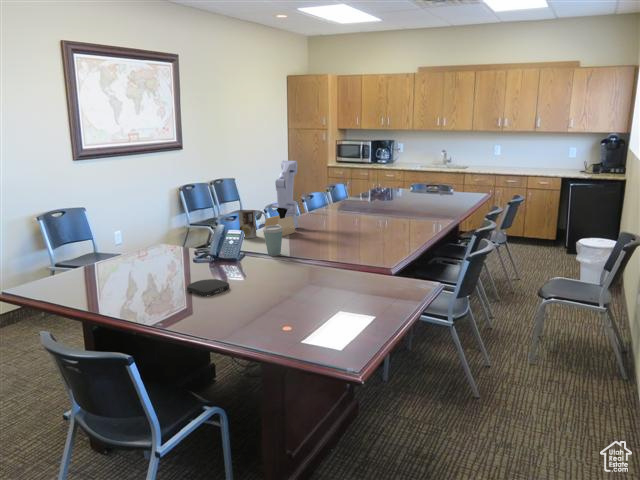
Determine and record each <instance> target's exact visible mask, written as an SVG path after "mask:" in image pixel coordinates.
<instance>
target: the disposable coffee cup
mask: <svg viewBox="0 0 640 480" xmlns="http://www.w3.org/2000/svg"><path fill="white" fill-rule="evenodd" d="M282 231H283V228H282V226H280V225H278V224H277V225H270V226H266V227H265V226H264V227H263V229H262V232H263V236H264V240H265V245H266V249H267V255H268V256H271V257H275V256H280V255H281V251H282V241H283V236H282Z"/></svg>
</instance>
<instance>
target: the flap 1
mask: <svg viewBox="0 0 640 480" xmlns="http://www.w3.org/2000/svg"><path fill="white" fill-rule="evenodd" d="M278 219H280V216H279V214H278V215H274V216H271V217H266V218H265V222H264V223H265V224H264V227H266V226H270V225H278V221H277V220H278Z"/></svg>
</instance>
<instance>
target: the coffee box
mask: <svg viewBox="0 0 640 480" xmlns="http://www.w3.org/2000/svg"><path fill="white" fill-rule="evenodd" d="M256 221H257V219H256V210H254V209H251V210H249V209H248V210H245V209H244V210H240V211H239V212H238V222H239V231H240V230H243V231H244V233H245V238H244V239H256V237H257V235H258V234H257V222H256Z"/></svg>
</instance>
